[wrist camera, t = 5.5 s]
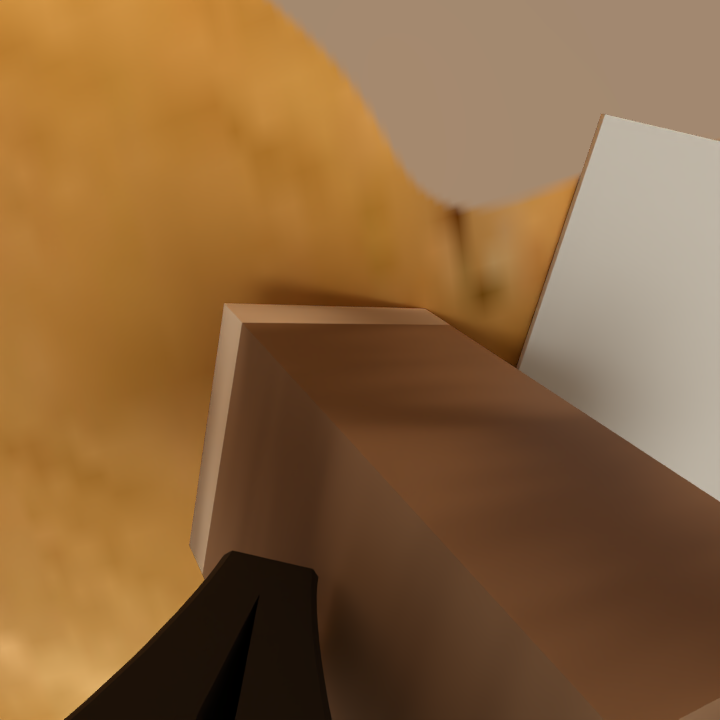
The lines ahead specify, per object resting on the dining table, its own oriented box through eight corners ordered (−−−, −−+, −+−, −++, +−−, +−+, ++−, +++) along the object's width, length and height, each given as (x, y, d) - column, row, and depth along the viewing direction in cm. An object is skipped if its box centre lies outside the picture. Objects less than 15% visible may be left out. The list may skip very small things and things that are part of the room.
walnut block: (189, 545, 15) (439, 1099, 8) (224, 302, 13) (628, 746, 5) (370, 513, 18) (688, 901, 10) (425, 308, 16) (885, 610, 8)
